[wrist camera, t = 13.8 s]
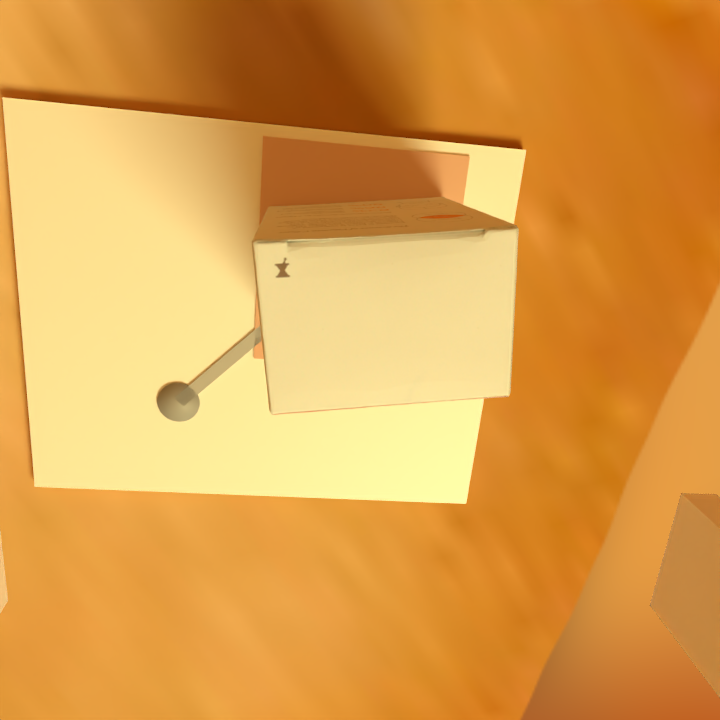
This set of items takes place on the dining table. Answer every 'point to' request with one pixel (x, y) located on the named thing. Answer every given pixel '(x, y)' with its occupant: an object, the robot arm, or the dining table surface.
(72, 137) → the paper sheet
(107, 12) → the dining table surface
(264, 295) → the small box
